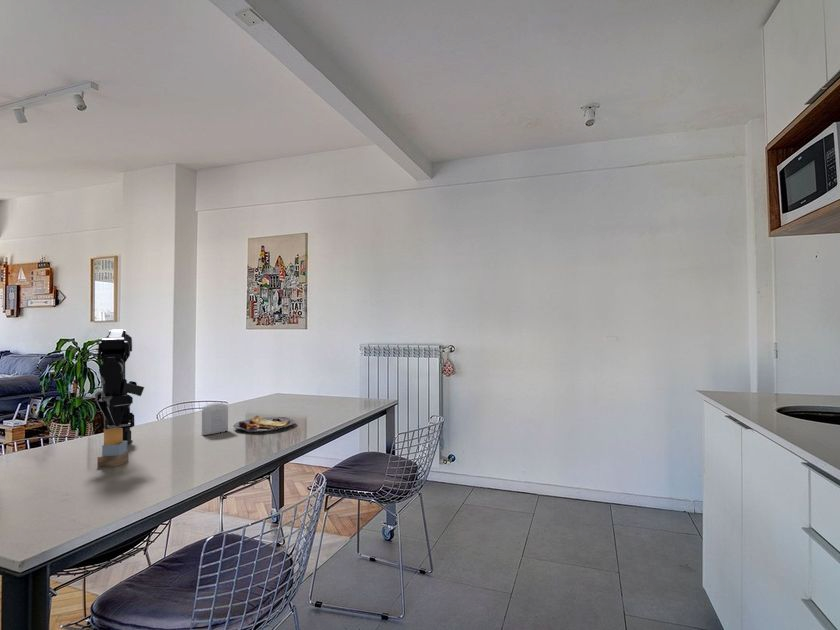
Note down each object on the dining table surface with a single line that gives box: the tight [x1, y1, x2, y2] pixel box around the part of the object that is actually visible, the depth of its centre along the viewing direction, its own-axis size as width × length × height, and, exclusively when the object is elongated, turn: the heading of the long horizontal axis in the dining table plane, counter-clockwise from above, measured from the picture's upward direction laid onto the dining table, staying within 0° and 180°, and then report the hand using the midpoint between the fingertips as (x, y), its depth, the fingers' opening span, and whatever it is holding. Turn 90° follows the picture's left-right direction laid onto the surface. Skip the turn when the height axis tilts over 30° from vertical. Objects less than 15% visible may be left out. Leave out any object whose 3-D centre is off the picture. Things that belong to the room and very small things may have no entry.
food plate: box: [233, 415, 296, 433], centre depth 191 cm, size 25×23×4 cm
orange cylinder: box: [103, 428, 123, 445], centre depth 142 cm, size 5×5×4 cm
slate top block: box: [101, 441, 128, 456], centre depth 143 cm, size 5×5×4 cm
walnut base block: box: [96, 450, 129, 468], centre depth 142 cm, size 6×6×4 cm
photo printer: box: [201, 402, 229, 436], centre depth 182 cm, size 10×4×12 cm, turn 134°
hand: (113, 424), depth 143 cm, fingers open, 9 cm apart
